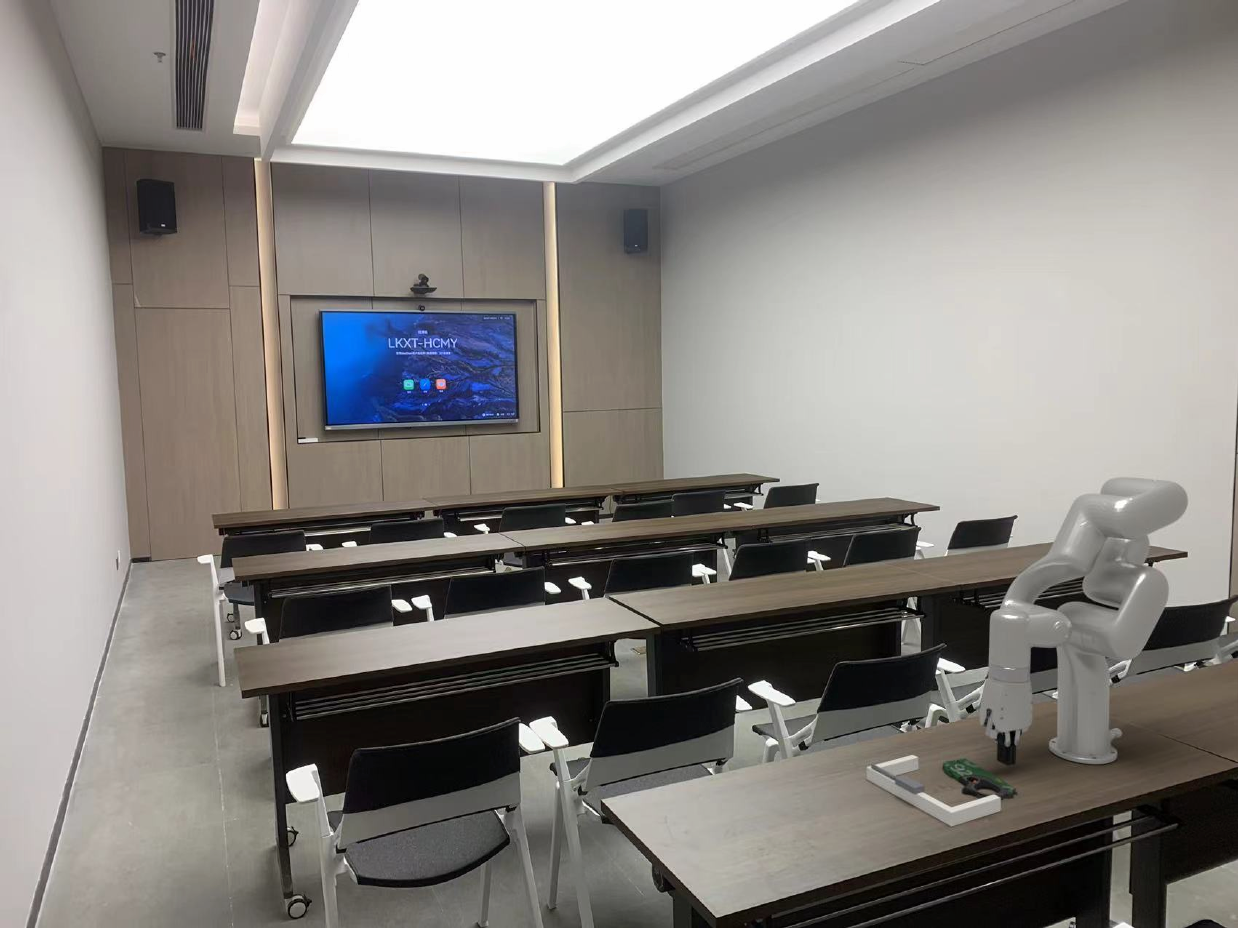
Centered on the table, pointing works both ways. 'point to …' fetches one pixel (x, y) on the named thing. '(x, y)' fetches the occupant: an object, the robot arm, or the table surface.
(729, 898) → the table surface
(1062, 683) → the robot arm
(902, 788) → the white angled bar
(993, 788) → the gun
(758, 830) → the table surface
